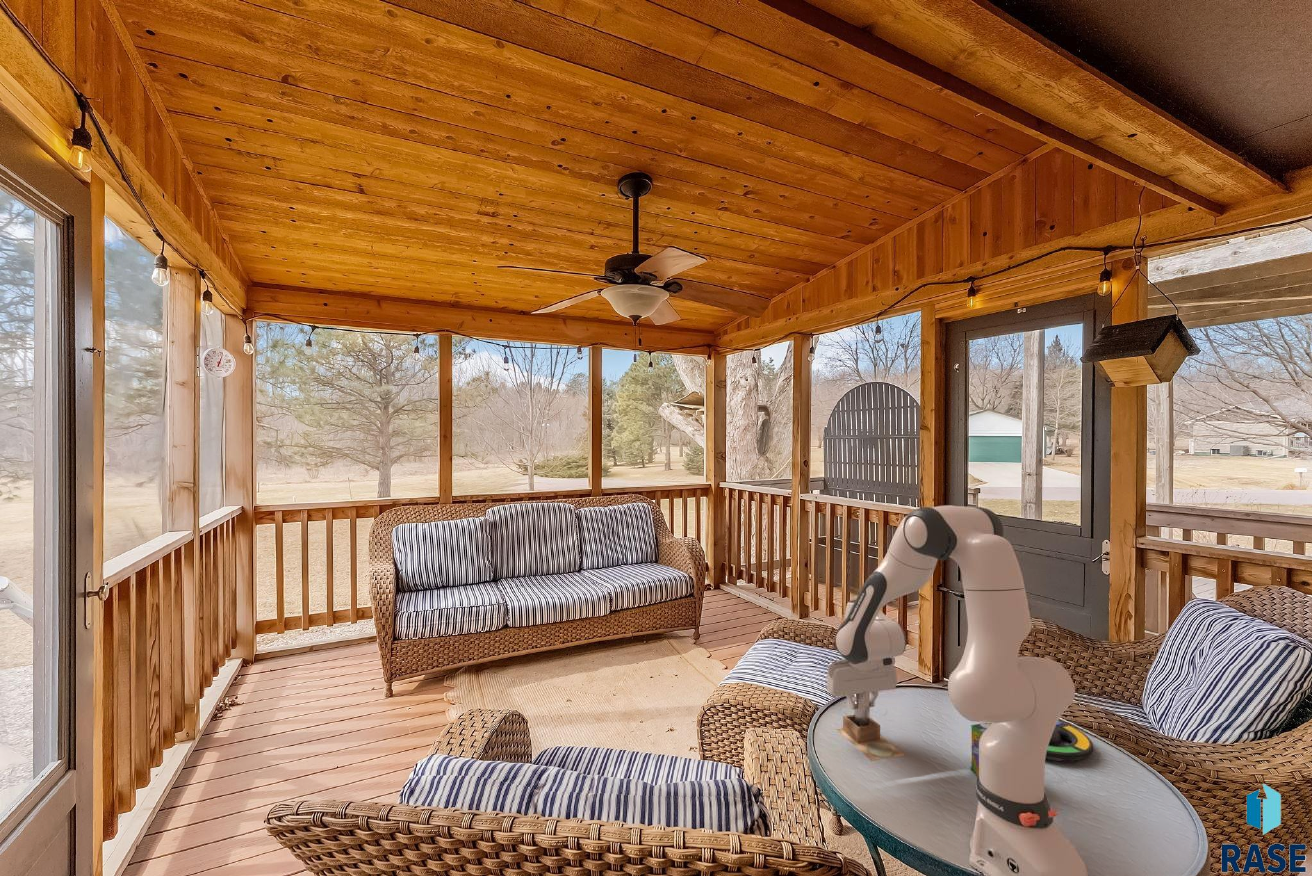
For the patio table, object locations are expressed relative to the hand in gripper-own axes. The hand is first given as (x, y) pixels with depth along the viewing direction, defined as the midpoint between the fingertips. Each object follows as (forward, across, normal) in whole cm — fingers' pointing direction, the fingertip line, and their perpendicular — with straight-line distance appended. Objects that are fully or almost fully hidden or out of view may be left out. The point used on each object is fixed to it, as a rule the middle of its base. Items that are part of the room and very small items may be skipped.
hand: (861, 707), depth 157 cm
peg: (+7, 0, 0) cm, 7 cm away
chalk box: (+9, +22, -24) cm, 34 cm away
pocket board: (+9, 0, -3) cm, 9 cm away
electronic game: (+10, +47, -13) cm, 50 cm away
